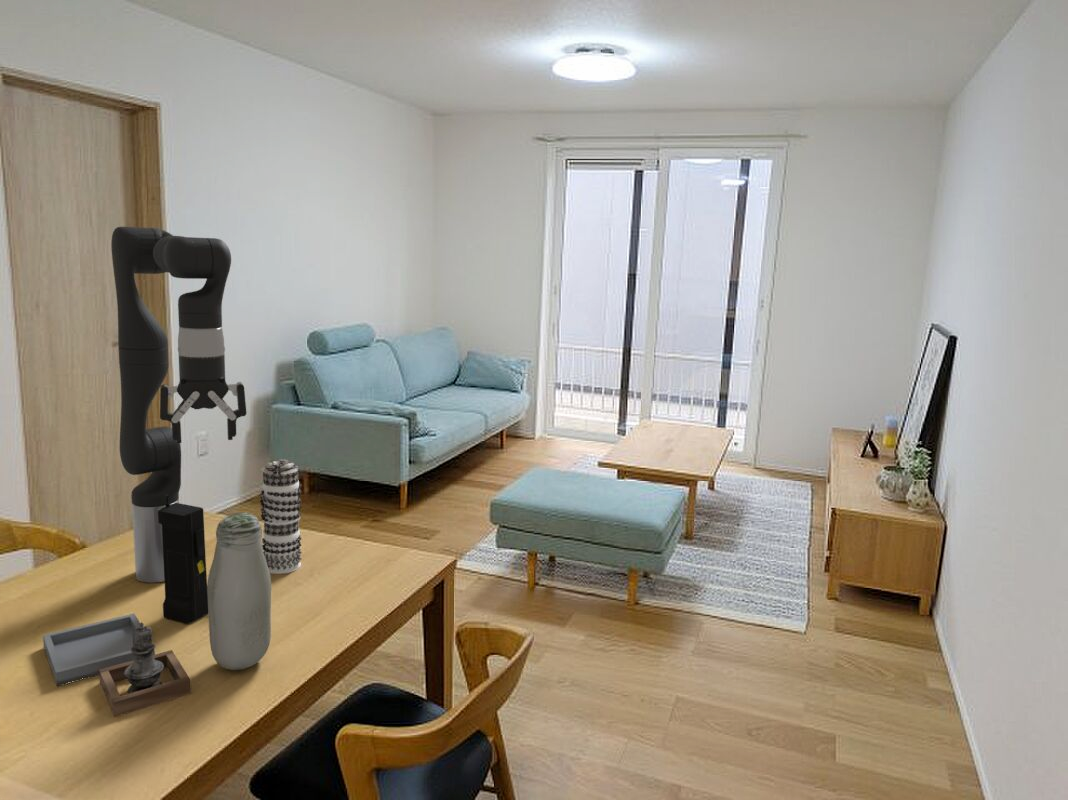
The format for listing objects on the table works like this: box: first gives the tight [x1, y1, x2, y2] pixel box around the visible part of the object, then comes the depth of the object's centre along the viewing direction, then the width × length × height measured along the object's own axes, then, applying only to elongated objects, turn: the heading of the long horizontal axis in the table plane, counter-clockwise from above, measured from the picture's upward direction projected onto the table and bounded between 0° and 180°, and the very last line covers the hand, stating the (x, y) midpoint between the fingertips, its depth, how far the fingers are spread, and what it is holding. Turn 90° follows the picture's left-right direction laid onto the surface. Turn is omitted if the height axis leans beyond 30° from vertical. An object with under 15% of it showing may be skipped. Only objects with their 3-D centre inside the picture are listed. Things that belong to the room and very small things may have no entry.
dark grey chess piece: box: [124, 621, 164, 694], centre depth 127 cm, size 6×6×12 cm
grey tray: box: [42, 613, 155, 687], centre depth 138 cm, size 15×15×2 cm
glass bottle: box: [207, 512, 272, 671], centre depth 134 cm, size 10×10×28 cm
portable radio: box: [158, 495, 208, 625], centre depth 151 cm, size 8×6×25 cm
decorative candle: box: [259, 459, 303, 575], centre depth 176 cm, size 9×9×25 cm
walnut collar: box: [98, 649, 192, 718], centre depth 128 cm, size 11×11×2 cm
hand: (204, 440), depth 140 cm, fingers open, 8 cm apart
